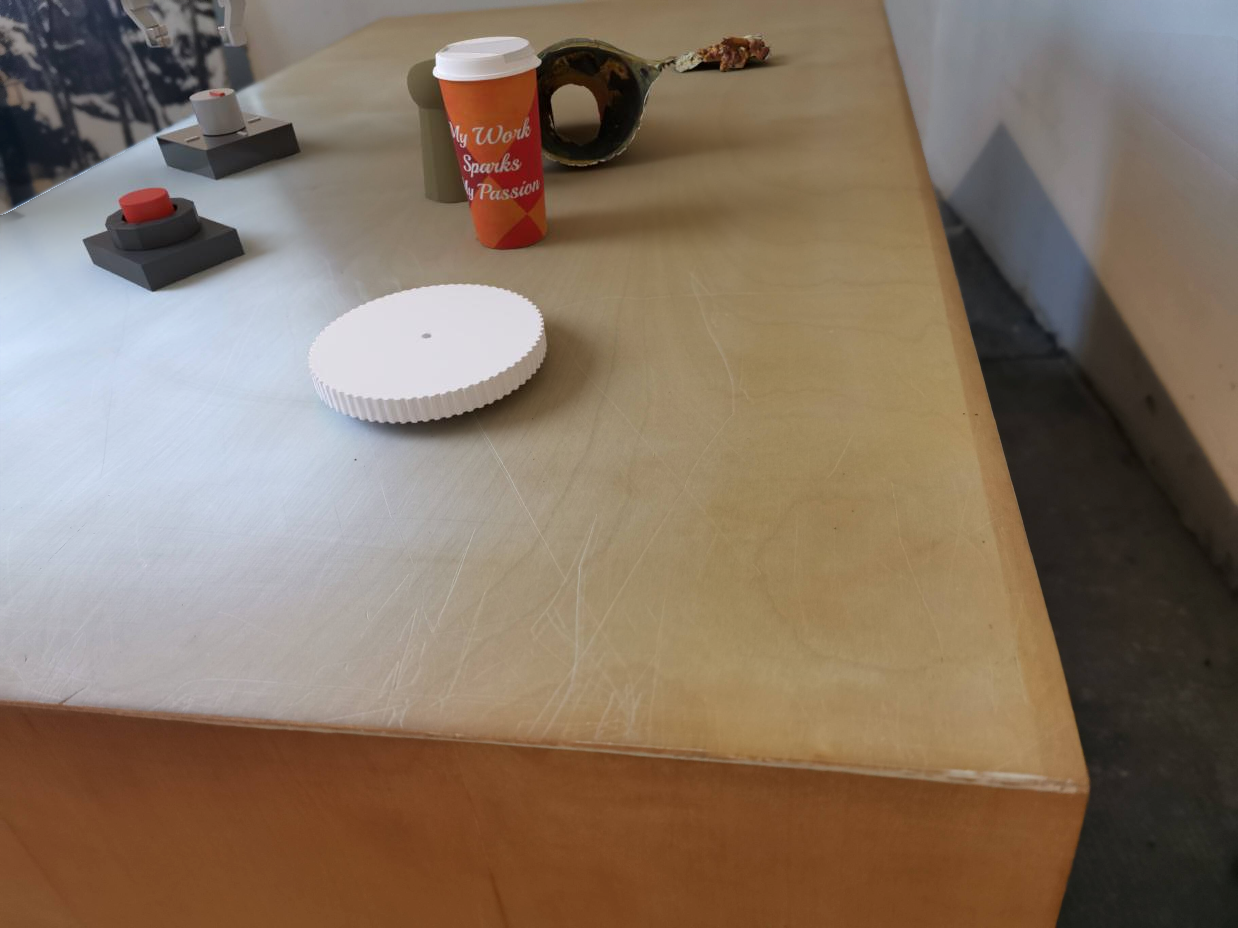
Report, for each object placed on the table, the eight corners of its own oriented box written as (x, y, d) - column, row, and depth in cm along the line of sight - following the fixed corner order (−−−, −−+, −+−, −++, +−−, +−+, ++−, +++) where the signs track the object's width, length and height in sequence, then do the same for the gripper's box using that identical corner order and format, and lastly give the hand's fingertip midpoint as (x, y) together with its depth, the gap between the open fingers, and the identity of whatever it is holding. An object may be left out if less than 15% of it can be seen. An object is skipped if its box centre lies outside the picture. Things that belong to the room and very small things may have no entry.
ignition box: (93, 264, 71) (71, 217, 69) (183, 231, 76) (165, 186, 73) (152, 292, 66) (130, 242, 63) (245, 254, 70) (228, 207, 68)
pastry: (669, 64, 111) (668, 34, 109) (760, 54, 112) (761, 24, 110) (680, 77, 106) (679, 45, 104) (776, 66, 107) (777, 34, 104)
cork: (465, 174, 82) (443, 50, 76) (504, 187, 79) (484, 57, 72) (412, 193, 79) (384, 65, 72) (450, 207, 76) (424, 74, 69)
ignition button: (119, 220, 68) (109, 199, 67) (161, 205, 70) (153, 184, 69) (140, 229, 66) (131, 207, 65) (184, 213, 69) (175, 192, 68)
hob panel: (166, 165, 92) (154, 135, 90) (249, 139, 98) (240, 110, 96) (216, 180, 86) (204, 148, 84) (300, 151, 92) (291, 121, 90)
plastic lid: (591, 380, 51) (587, 342, 49) (365, 470, 45) (353, 430, 44) (488, 298, 61) (482, 265, 59) (291, 364, 55) (279, 329, 54)
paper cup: (452, 254, 67) (413, 62, 59) (480, 217, 73) (449, 37, 65) (549, 255, 66) (523, 57, 57) (570, 216, 72) (549, 32, 63)
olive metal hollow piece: (631, 20, 90) (651, -16, 73) (675, 125, 94) (703, 114, 77) (484, 96, 91) (470, 78, 74) (533, 196, 95) (531, 201, 78)
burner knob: (193, 132, 90) (179, 94, 88) (231, 121, 93) (218, 83, 90) (215, 138, 88) (202, 98, 85) (253, 126, 90) (241, 87, 88)
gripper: (24, -111, 78) (93, 54, 86) (205, -127, 72) (260, 53, 80) (79, -118, 82) (139, 40, 91) (253, -134, 76) (301, 37, 85)
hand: (197, 46), depth 85 cm, fingers open, 8 cm apart
